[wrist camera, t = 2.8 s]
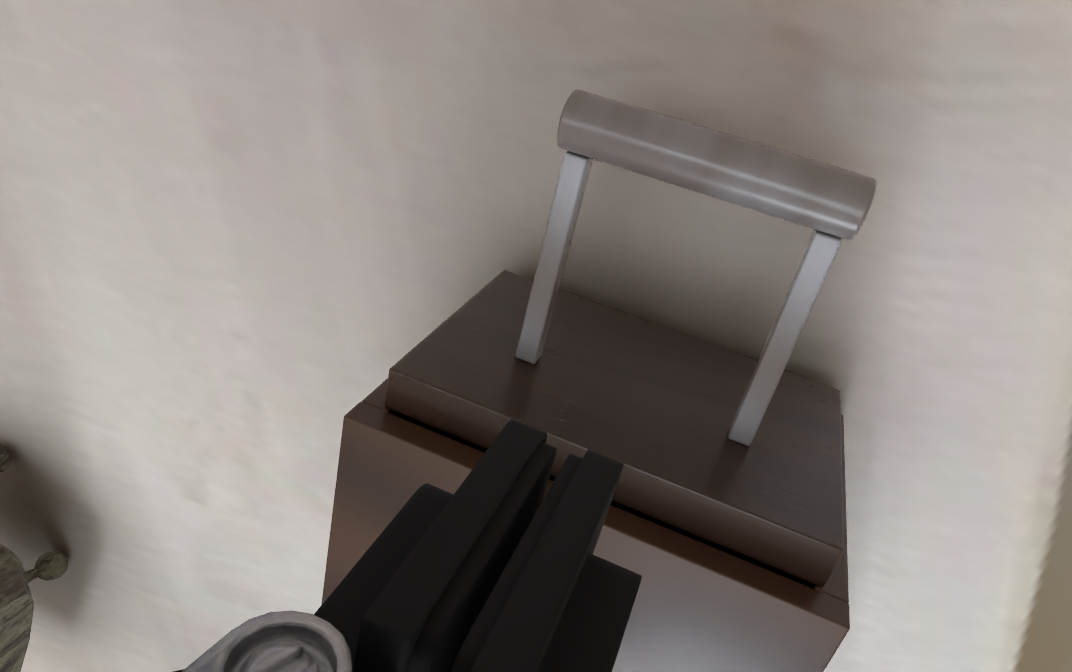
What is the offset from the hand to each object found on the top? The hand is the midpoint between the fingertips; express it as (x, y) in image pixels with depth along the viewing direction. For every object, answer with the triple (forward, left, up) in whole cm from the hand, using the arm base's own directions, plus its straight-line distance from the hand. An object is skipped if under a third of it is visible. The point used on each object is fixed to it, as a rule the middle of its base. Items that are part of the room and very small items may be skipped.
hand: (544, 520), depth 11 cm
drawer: (0, -6, -14) cm, 16 cm away
